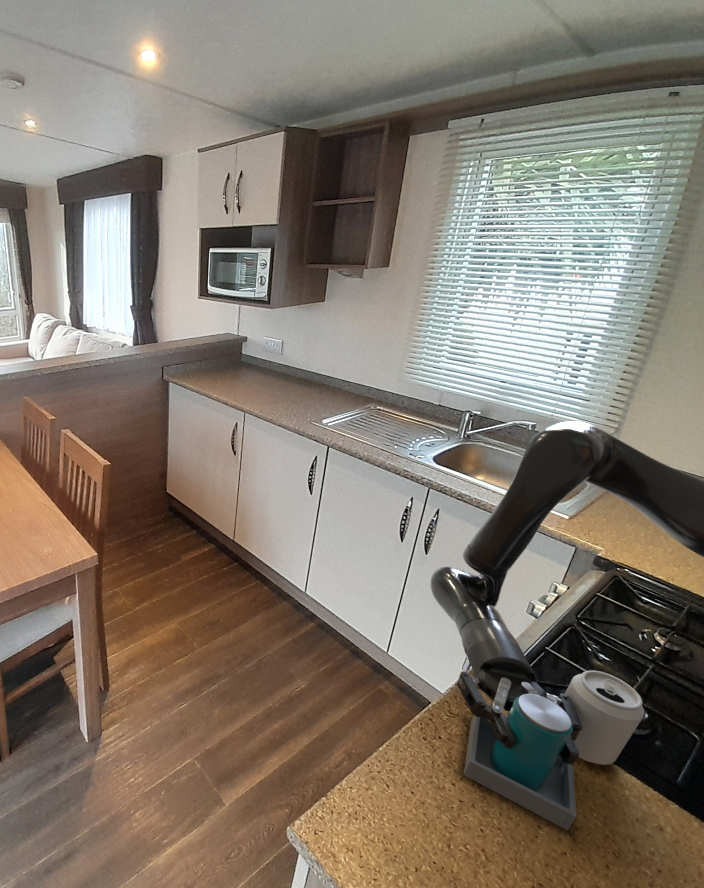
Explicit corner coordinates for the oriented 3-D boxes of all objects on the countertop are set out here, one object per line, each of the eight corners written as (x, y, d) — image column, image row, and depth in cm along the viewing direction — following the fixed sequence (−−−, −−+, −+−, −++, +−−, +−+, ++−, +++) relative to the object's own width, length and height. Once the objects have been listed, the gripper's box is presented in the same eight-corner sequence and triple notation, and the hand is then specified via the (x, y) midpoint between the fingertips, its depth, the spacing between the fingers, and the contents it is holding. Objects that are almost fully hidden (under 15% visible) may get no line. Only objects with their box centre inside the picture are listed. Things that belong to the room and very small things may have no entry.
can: (545, 745, 72) (575, 689, 67) (548, 711, 77) (576, 656, 72) (614, 779, 67) (652, 722, 62) (613, 741, 72) (648, 685, 67)
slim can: (542, 765, 69) (573, 707, 64) (543, 800, 64) (575, 742, 60) (491, 740, 72) (516, 684, 67) (488, 772, 68) (515, 714, 63)
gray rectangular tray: (564, 767, 69) (572, 753, 68) (567, 830, 62) (576, 816, 60) (470, 722, 75) (476, 709, 74) (463, 775, 68) (469, 761, 67)
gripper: (449, 627, 78) (485, 717, 64) (556, 649, 74) (621, 750, 60) (437, 660, 81) (469, 753, 67) (540, 683, 77) (597, 788, 63)
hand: (540, 751), depth 63 cm, fingers closed on slim can, 6 cm apart
